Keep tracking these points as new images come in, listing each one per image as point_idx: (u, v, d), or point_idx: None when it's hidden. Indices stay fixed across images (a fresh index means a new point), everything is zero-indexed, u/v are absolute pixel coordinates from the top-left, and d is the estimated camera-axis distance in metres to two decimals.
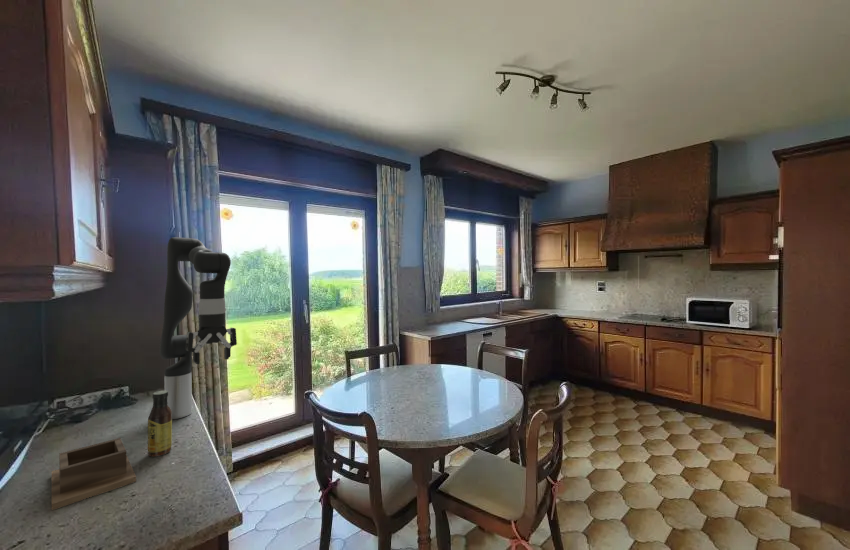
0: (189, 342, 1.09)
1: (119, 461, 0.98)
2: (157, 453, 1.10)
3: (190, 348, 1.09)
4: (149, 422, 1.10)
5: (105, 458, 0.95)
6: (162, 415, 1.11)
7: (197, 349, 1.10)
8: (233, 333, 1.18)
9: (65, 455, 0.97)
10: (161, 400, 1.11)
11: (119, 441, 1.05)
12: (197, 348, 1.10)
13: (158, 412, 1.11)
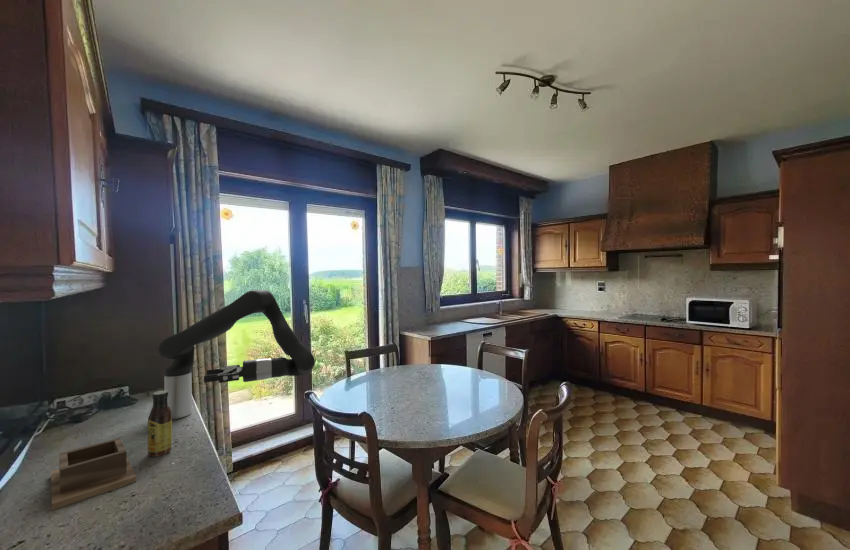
0: None
1: (119, 461, 0.98)
2: (157, 453, 1.10)
3: None
4: (149, 422, 1.10)
5: (105, 458, 0.95)
6: (162, 415, 1.11)
7: None
8: None
9: (65, 455, 0.97)
10: (161, 400, 1.11)
11: (119, 441, 1.05)
12: None
13: (158, 412, 1.11)
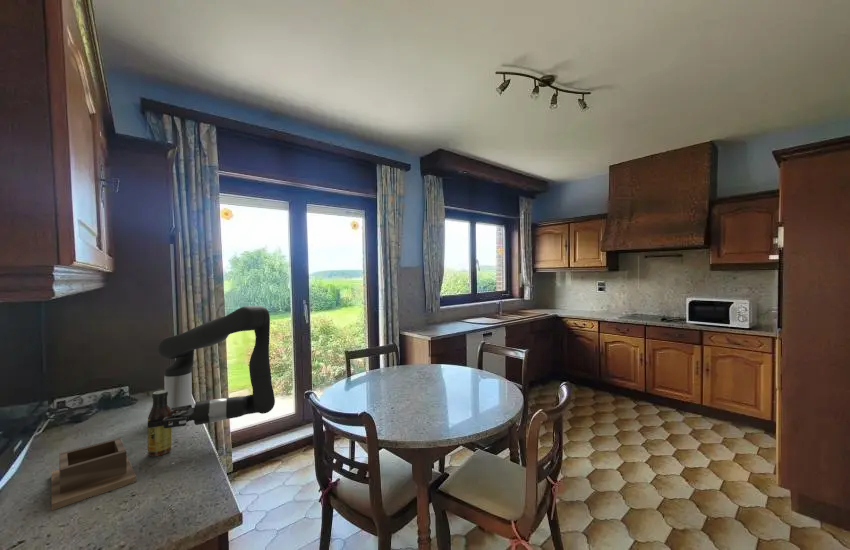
0: None
1: (119, 461, 0.98)
2: (157, 453, 1.10)
3: None
4: None
5: (105, 458, 0.95)
6: (162, 415, 1.11)
7: None
8: None
9: (65, 455, 0.97)
10: (161, 399, 1.12)
11: (119, 441, 1.05)
12: None
13: (157, 412, 1.11)
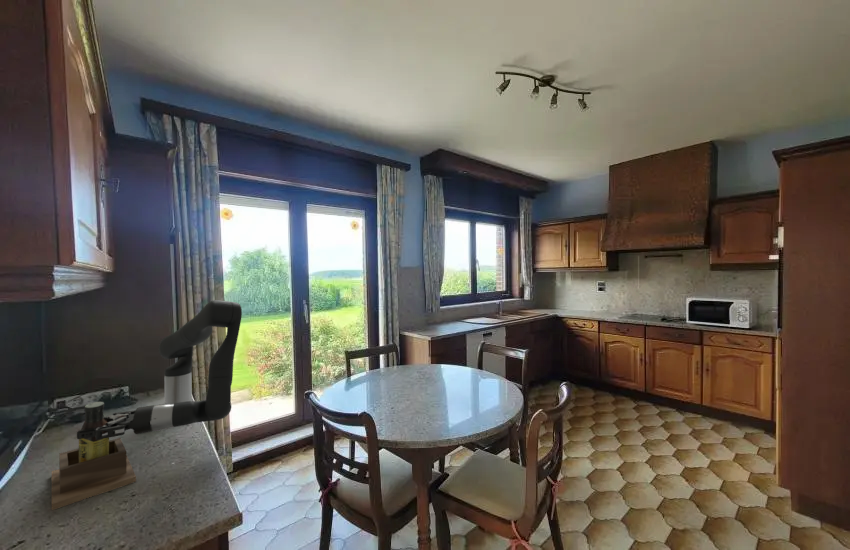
0: None
1: (119, 461, 0.98)
2: None
3: None
4: (80, 439, 0.95)
5: (105, 458, 0.95)
6: None
7: None
8: None
9: (65, 455, 0.97)
10: (94, 414, 0.96)
11: (119, 441, 1.05)
12: (101, 435, 0.96)
13: None
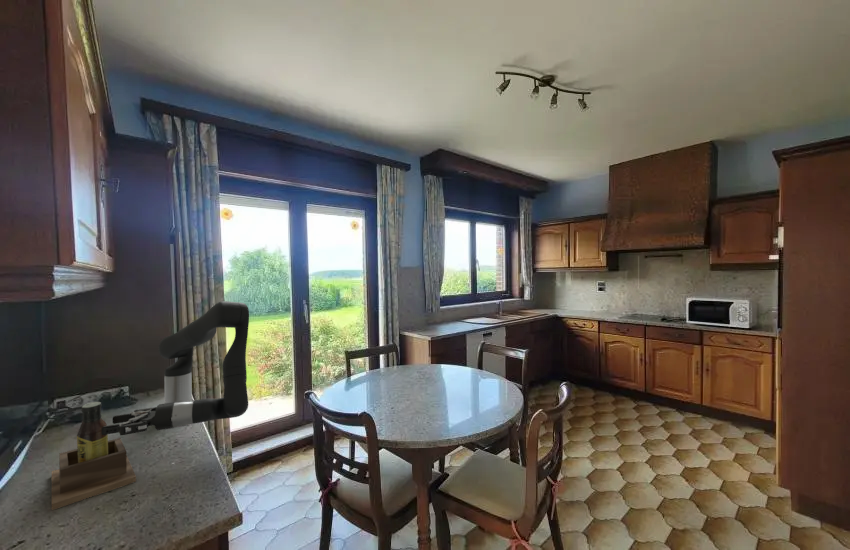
0: None
1: (119, 461, 0.98)
2: None
3: None
4: (78, 439, 0.95)
5: (105, 458, 0.95)
6: (93, 431, 0.96)
7: None
8: None
9: (65, 455, 0.97)
10: (92, 414, 0.96)
11: (119, 441, 1.05)
12: None
13: (88, 428, 0.96)
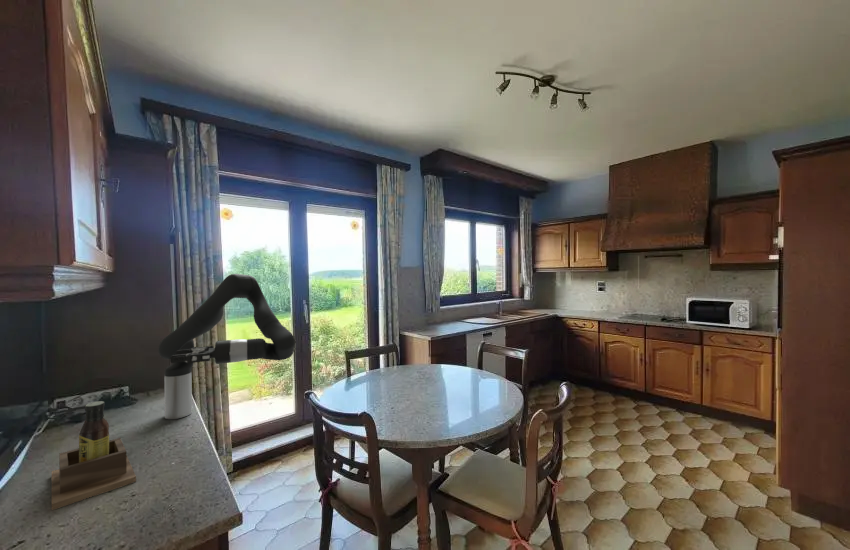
0: None
1: (119, 461, 0.98)
2: None
3: None
4: (80, 438, 0.96)
5: (105, 458, 0.95)
6: (96, 430, 0.97)
7: None
8: None
9: (65, 455, 0.97)
10: (95, 412, 0.97)
11: (119, 441, 1.05)
12: None
13: (90, 427, 0.96)
